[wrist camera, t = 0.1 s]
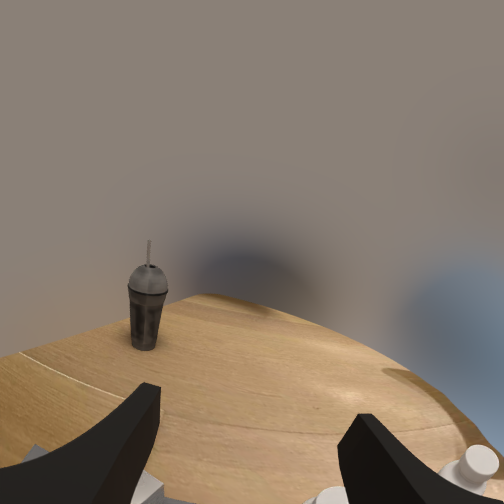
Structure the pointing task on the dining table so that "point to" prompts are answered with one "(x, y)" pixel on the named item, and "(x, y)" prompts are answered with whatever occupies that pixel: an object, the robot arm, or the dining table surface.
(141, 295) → the beverage cup
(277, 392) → the dining table surface
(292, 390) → the dining table surface
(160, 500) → the square nut with handle
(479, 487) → the supplement bottle
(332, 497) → the supplement bottle
